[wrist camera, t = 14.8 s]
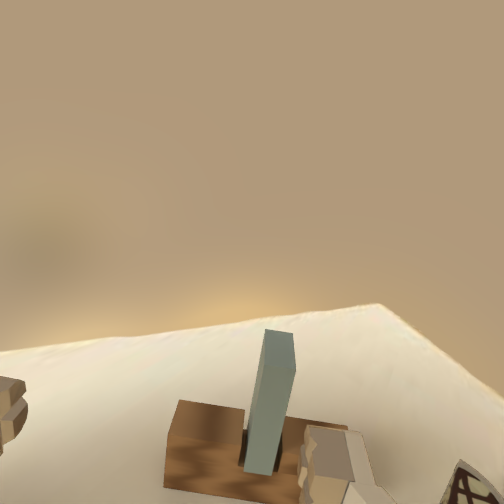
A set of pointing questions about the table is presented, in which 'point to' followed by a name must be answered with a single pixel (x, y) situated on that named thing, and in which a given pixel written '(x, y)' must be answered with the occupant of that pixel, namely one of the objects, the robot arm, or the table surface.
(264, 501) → the notched wooden block
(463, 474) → the food container
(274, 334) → the sage green pillar
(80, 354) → the table surface
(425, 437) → the table surface
